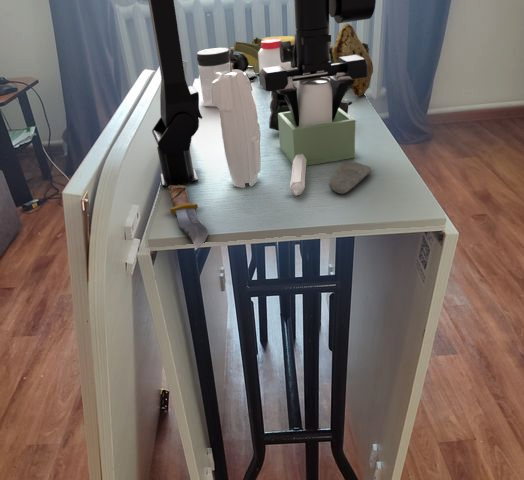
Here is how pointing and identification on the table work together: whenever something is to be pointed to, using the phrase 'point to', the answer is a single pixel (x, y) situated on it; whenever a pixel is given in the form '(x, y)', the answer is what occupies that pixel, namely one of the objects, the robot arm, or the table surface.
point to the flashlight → (238, 125)
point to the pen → (252, 78)
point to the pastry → (352, 46)
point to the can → (314, 101)
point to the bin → (318, 139)
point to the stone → (348, 176)
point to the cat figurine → (287, 108)
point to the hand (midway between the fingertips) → (314, 123)
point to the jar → (211, 69)
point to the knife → (187, 215)
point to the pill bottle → (269, 53)
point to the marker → (298, 175)
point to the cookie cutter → (250, 50)
